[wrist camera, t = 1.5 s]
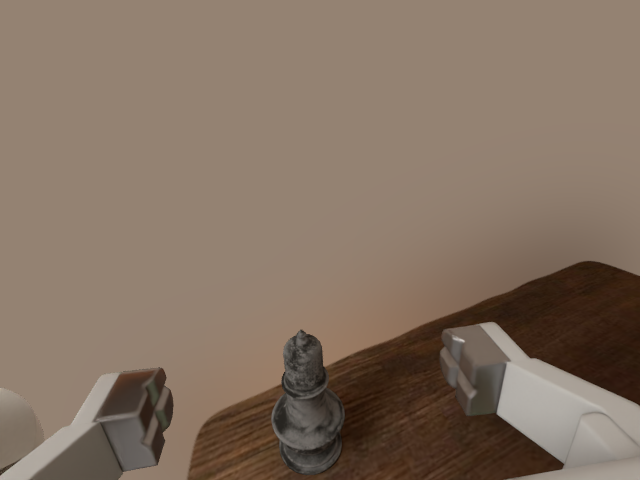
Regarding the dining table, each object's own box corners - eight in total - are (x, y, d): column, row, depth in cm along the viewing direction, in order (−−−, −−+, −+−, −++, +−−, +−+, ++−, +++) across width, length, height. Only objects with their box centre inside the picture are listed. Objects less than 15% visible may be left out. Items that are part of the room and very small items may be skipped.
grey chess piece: (358, 434, 30) (358, 322, 25) (317, 495, 26) (307, 375, 21) (305, 401, 33) (296, 296, 28) (261, 450, 29) (240, 337, 24)
